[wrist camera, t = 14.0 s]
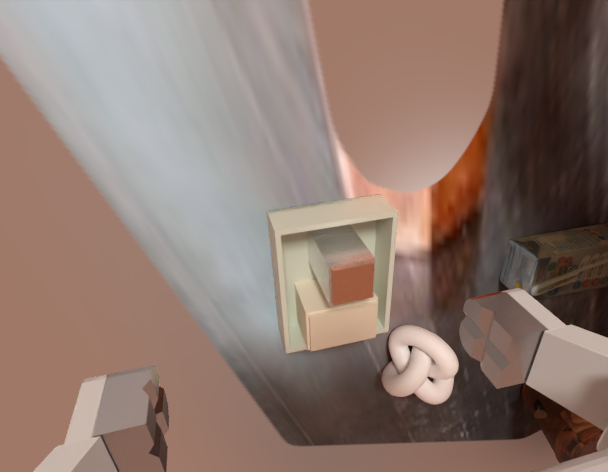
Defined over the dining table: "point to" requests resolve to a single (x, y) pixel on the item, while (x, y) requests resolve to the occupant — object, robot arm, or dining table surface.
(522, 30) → the dining table surface
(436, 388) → the pretzel
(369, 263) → the copper capped metal stub
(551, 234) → the beverage carton
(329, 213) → the tote
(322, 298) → the beige rectangular block
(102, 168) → the dining table surface
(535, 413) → the brown bucket
